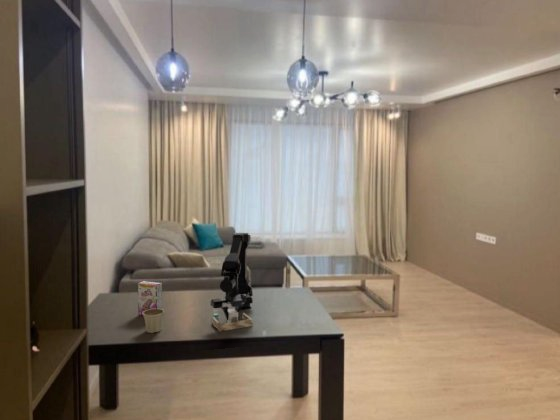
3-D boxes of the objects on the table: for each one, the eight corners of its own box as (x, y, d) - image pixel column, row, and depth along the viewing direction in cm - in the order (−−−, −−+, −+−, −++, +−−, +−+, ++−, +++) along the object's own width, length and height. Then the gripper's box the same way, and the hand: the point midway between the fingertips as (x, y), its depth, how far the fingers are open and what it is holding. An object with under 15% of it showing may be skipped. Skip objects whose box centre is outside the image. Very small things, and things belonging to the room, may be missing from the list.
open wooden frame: (244, 318, 208) (244, 312, 208) (252, 325, 198) (252, 319, 198) (212, 323, 201) (212, 317, 201) (219, 331, 192) (218, 324, 191)
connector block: (233, 318, 203) (233, 308, 203) (239, 323, 197) (239, 313, 197) (225, 320, 202) (225, 309, 201) (230, 325, 195) (230, 314, 195)
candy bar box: (137, 315, 213) (136, 283, 211) (144, 312, 217) (143, 280, 216) (157, 318, 209) (156, 285, 208) (163, 315, 214) (162, 282, 212)
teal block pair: (236, 316, 212) (236, 310, 211) (238, 317, 210) (238, 311, 210) (213, 320, 206) (213, 313, 206) (214, 321, 205) (214, 315, 204)
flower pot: (145, 327, 197) (144, 308, 196) (166, 326, 198) (166, 308, 197) (140, 334, 188) (140, 315, 187) (162, 334, 188) (162, 314, 188)
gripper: (217, 293, 187) (217, 328, 189) (257, 288, 195) (257, 321, 197) (210, 287, 197) (210, 320, 199) (248, 282, 205) (248, 314, 207)
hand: (231, 319), depth 200 cm, fingers closed on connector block, 4 cm apart
